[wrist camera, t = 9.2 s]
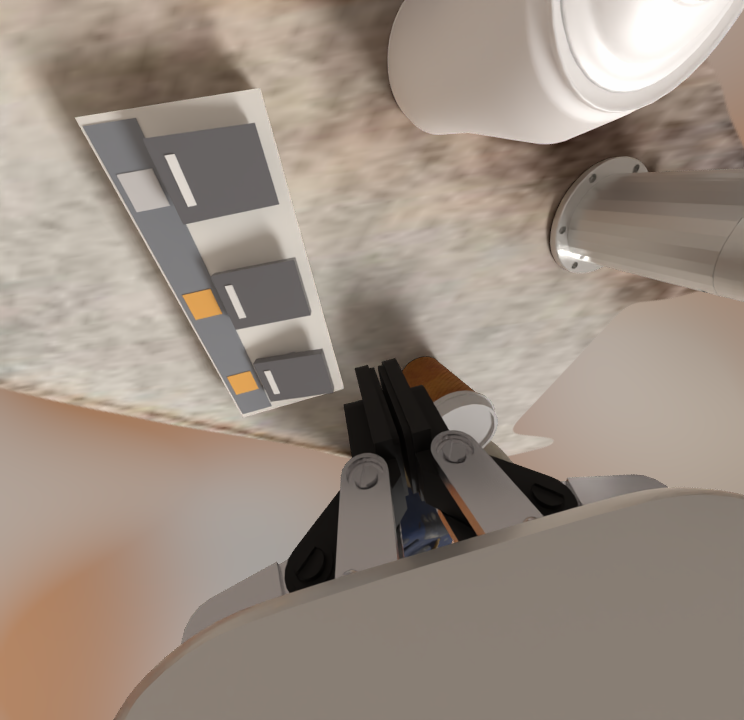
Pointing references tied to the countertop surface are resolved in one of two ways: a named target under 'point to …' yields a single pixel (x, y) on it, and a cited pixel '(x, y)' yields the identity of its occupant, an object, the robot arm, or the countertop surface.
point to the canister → (421, 526)
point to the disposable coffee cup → (454, 399)
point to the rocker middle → (263, 293)
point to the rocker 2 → (295, 375)
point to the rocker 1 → (213, 171)
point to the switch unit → (213, 237)
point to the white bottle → (545, 61)
